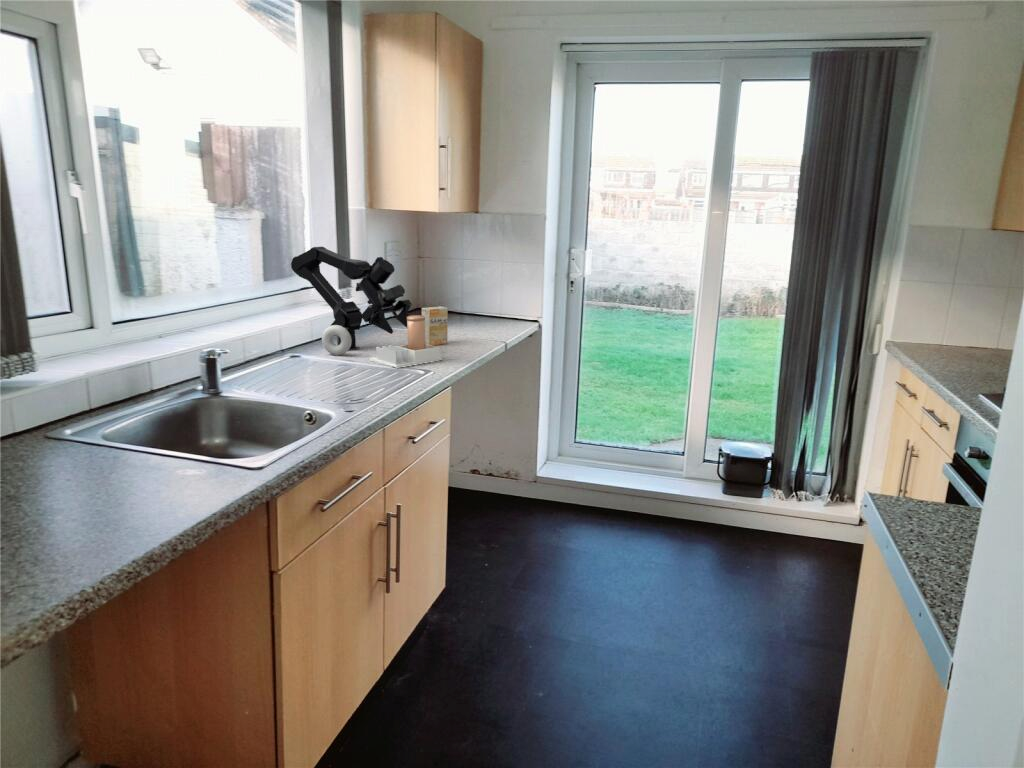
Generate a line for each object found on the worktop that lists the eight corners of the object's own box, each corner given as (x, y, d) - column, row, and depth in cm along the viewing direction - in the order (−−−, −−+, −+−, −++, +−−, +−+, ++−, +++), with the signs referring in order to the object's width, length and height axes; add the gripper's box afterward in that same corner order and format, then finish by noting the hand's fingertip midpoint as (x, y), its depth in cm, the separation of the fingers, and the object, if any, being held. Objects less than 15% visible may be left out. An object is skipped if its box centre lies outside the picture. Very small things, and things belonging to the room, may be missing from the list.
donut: (320, 355, 232) (319, 325, 230) (325, 353, 236) (323, 323, 233) (349, 357, 231) (348, 326, 228) (353, 355, 234) (352, 324, 231)
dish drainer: (369, 361, 226) (369, 345, 224) (415, 353, 238) (414, 338, 237) (396, 368, 216) (396, 352, 215) (442, 360, 229) (442, 345, 227)
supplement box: (429, 346, 249) (428, 309, 246) (421, 344, 253) (420, 307, 250) (448, 343, 255) (448, 307, 251) (440, 341, 258) (440, 305, 255)
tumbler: (405, 356, 229) (404, 316, 225) (422, 354, 231) (421, 314, 228) (411, 360, 224) (410, 319, 221) (428, 358, 226) (427, 317, 223)
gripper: (368, 279, 219) (396, 319, 217) (407, 274, 235) (433, 311, 232) (349, 302, 225) (377, 341, 223) (389, 296, 241) (415, 332, 238)
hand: (401, 330), depth 229 cm, fingers open, 9 cm apart
